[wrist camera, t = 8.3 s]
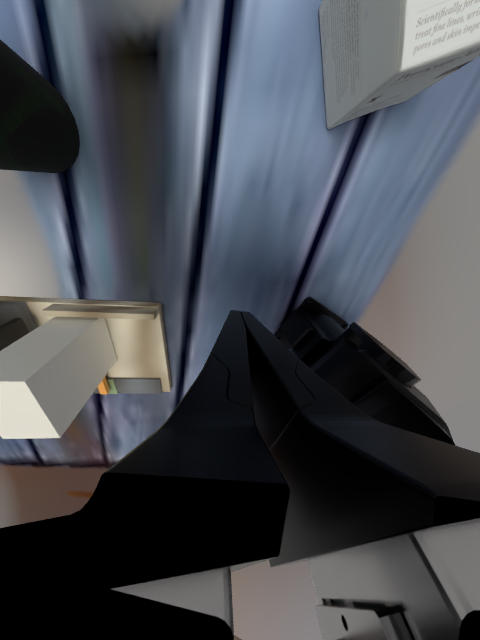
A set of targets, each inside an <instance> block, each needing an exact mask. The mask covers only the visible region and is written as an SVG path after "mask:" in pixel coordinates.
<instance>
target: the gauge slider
mask: <svg viewBox="0 0 480 640" xmlns="http://www.w3.org/2000/svg"><path fill="white" fill-rule="evenodd" d="M116 361H117V358H116V355H115V351H114V348H113V345H112V341H111V338H110V335H109V331H108V328H107V324H106V321H105V318H84V317H54V318H52V319H51V320H49V321H47V322H46V323H44V324H43V325H41V326H39V327H38V328H36V329H35V330H33V331H31V332H30V333H28V334H27V335H25V336H23V337H22V338H20V339H19V340H17V341H15V342H14V343H12V344H11V345H9V346H8V347H6V348H4V349H3V350H1V351H0V436H1V437H2V438H3V439H21V438H61V436H62V435H63V433H64V432H65V431H66V429H67V428H68V427H69V425H70V424H71V422H72V421H73V420H74V418H75V417H76V416H77V414H78V413H79V411H80V410H81V409H82V407H83V406H84V405H85V403H86V402H87V400H88V399H89V398H90V396H91V395H92V394H93V392H94V391H95V389H96V388H97V387H98V389H99V392H100V394H108V392H109V391H110V389H109V386H108V383H107V381H106V378H105V376H106V374H107V373H108V372H109V370H110V369H111V368H112V366H113V365H114V363H115V362H116Z"/></svg>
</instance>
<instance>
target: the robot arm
mask: <svg viewBox="0 0 480 640" xmlns="http://www.w3.org/2000/svg"><path fill="white" fill-rule="evenodd" d="M309 301H311V303H308V302H309ZM343 324H344V325H343ZM342 325H343V326H342ZM347 327H348V323H347V322H346V321H345V320H343V319H342V318H340V317H339V316H338V315H336V314H335V313H333V312H332V311H330V310H329V309H328V308H326V307H325V306H323V305H322V304H321V303H319V302H318V301H316V300H315V299H313V298H312V297H308V298H307V299H306V300H305V301H304V302H303V303H302V304H301V305H300V306H299V308H298V309H297V310H295V311H294V312H293V313H292V314H291V315H290V316H289V318H288V319H287V320H286V321H285V322H284V323H283V324H282V326H281V328H280V329H279V330H278V331H277V332H276V334H275V335H273V334H272V333H271V332H270V331H269V330H268V329H267V328H266V327H265V326H264V325H263V324H261V323H260V322H259V321H258V320H257V319H256V318H255V317H254V316H253V315H252V314H251V313H250V312H244V311H241V312H240V311H235V310H231V311H230V313H229V315H228V317H227V319H226V321H225V324H224V326H223V328H222V330H221V332H220V334H219V336H218V338H217V341H216V343H215V345H214V347H213V349H212V351H211V353H210V355H209V357H208V359H207V361H206V363H205V365H204V367H203V369H202V371H201V372H200V374H199V375H198V377H197V379H196V380H195V382H194V383H193V385H192V386H191V387H190V389H189V390H188V392H187V393H186V394H185V396H184V397H183V399H182V400H181V402H180V403H179V404H178V406H177V407H176V409H175V410H174V411H173V413H172V414H171V415H170V417H169V418H168V419H167V420H166V422H165V423H164V424H163V425H162V426H161V427H160V428H159V429H158V430H157V431H156V432H154V433H153V434H152V435H151V436H149V437H148V438H147V439H146V440H145V441H143V442H142V443H141V444H140V445H138V446H137V447H136V448H135V449H133V450H132V451H131V452H130V453H128V454H127V455H126V456H125V457H123V458H122V459H121V460H120V461H118V462H117V463H116V464H115V465H113V466H112V467H111V468H110V469H108V470H107V471H106V472H105V473H104V474H102V476H101V478H100V481H99V483H98V485H97V487H96V489H95V491H94V493H93V495H92V497H91V498H90V499H89V501H88V502H87V504H85V506H84V507H83V508H82V509H81V510H80V511H77V512H75V513H73V514H71V515H67V516H61V517H56V518H51V519H46V520H41V521H36V522H30V523H25V524H20V525H15V526H9V527H4V528H0V640H242V639H240V638H239V637H237V636H236V635H234V630H233V607H232V587H231V572H233V571H236V570H239V569H242V568H245V567H248V566H251V565H254V564H257V563H260V562H263V561H266V560H269V561H270V566H271V567H275V566H281V565H286V564H291V563H297V562H302V561H307V562H308V566H309V569H310V574H311V578H312V582H313V586H314V590H315V594H316V598H317V602H318V605H317V606H316V612H317V617H318V621H319V625H320V629H321V633H322V638H323V640H480V453H478V452H474V451H471V450H468V449H464V448H461V447H458V446H455V444H454V442H453V439H452V437H451V434H450V431H449V429H448V426H447V425H446V423H445V422H444V420H443V419H442V417H441V416H440V415H439V413H438V412H437V410H436V409H435V408H434V406H433V405H432V404H431V402H430V401H429V399H428V398H427V397H426V396H425V395H423V394H422V393H421V392H420V391H419V390H418V389H417V388H416V387H415V386H414V384H416V383H417V382H419V381H420V380H421V379H420V378H419V377H418V376H417V375H416V374H415V373H414V372H413V370H412V369H411V368H409V366H408V365H407V364H406V363H405V362H403V361H402V360H401V359H400V358H399V357H398V356H396V355H395V354H394V353H393V352H392V351H390V350H389V349H388V348H387V347H386V346H385V345H383V344H382V343H381V342H379V341H378V340H377V339H376V338H374V337H373V336H372V335H370V334H369V333H368V332H367V331H365V330H364V329H363V328H361V327H360V326H359V325H358V324H356V323H355V322H353V323H352V324H351V325H349V328H348V329H347V330H346V331H345V329H346V328H347ZM277 337H279V338H277ZM288 348H289V349H291V350H292V351H293V353H292V352H291V351H290V350H289V349H288Z"/></svg>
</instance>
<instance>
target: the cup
mask: <svg viewBox="0 0 480 640" xmlns="http://www.w3.org/2000/svg"><path fill="white" fill-rule="evenodd" d="M79 144H80V143H79V133H78V129H77V125H76V122H75V119H74V117H73V115H72V113H71V111H70V108H69V106H68V105H67V103H66V102H65V100H64V99H63V98H62V96H61V95H60V93H59V92H58V91H57V90H56V89H55V88H54V87H53V86H52V85H51V84H50V83H49V82H48V81H47V80H46V79H45V78H44V77H43V76H41V75H40V74H39V73H38V72H37V71H36V70H35V69H33V68H32V67H31V66H30V65H29V64H28V63H27V62H25V61H24V60H23V59H22V58H21V57H20V56H18V55H17V54H16V53H15V52H14V51H13V50H12V49H10V48H9V47H8V46H7V45H6V44H5V43H4V42H2V41H1V40H0V169H3V170H18V171H33V172H48V173H57V172H63V171H65V170H67V169H69V168H70V167H71V166H72V165H73V164H74V162H75V161H76V158H77V156H78V153H79Z"/></svg>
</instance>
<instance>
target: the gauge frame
mask: <svg viewBox="0 0 480 640" xmlns="http://www.w3.org/2000/svg"><path fill="white" fill-rule="evenodd" d="M54 317H84V318H105V321H106V324H107V328H108V331H109V335H110V338H111V341H112V345H113V348H114V351H115V355H116V358H117V361H116V362H115V363H114V365H113V366H112V368H111V369H110V370H109V372H108V373H107V374H106V376H105V378H106V381H107V383H108V386H109V389H110V391H109V392H108V394H118V393H162V392H170V391H171V388H172V381H171V373H170V366H169V358H168V351H167V343H166V336H165V328H164V321H163V313H162V306H161V303H155V302H131V301H106V300H82V299H58V298H34V297H33V298H32V297H9V296H0V351H1V350H3V349H4V348H6V347H8V346H9V345H11V344H12V343H14V342H15V341H17V340H19V339H20V338H22V337H23V336H25V335H27V334H28V333H30V332H31V331H33V330H35V329H36V328H38V327H39V326H41V325H43V324H44V323H46V322H47V321H49V320H51V319H52V318H54ZM93 393H100V392H99V389H98V387H97V388H96V389H95V391H94V392H93Z"/></svg>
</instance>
